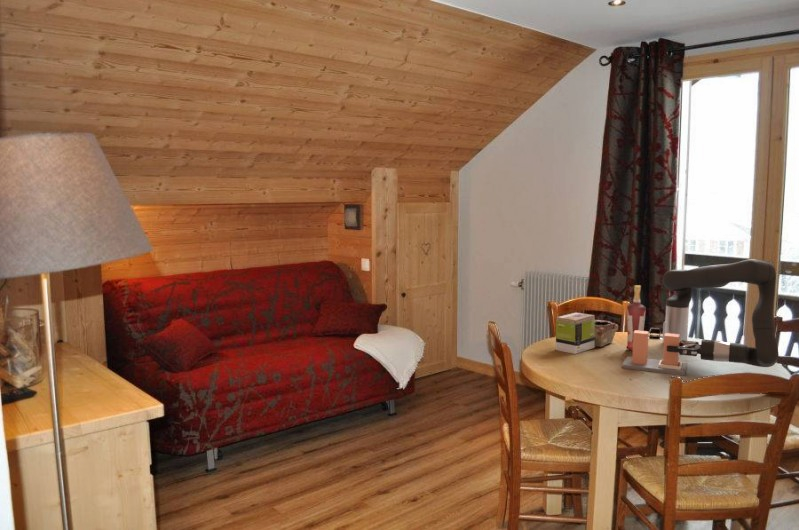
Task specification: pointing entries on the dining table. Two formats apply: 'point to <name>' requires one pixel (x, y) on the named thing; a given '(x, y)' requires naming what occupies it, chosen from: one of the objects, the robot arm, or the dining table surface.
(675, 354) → the terracotta block
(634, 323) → the liquor
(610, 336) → the grey textured container
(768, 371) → the dining table surface
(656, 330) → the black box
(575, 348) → the tea box
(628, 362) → the charcoal board
